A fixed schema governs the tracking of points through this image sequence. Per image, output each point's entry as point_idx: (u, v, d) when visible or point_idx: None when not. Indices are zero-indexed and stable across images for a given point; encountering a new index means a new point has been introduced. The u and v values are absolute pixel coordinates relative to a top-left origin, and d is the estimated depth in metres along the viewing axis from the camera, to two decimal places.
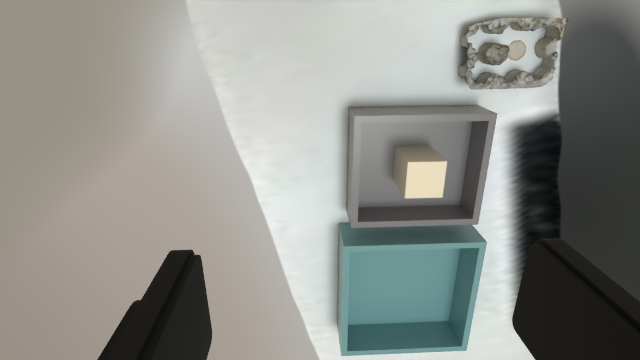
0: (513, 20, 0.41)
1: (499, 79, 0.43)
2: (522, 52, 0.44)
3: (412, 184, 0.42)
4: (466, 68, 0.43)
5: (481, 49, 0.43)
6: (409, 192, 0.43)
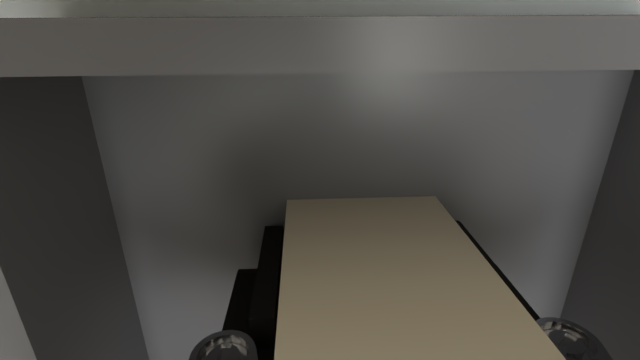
0: None
1: None
2: None
3: None
4: None
5: None
6: None
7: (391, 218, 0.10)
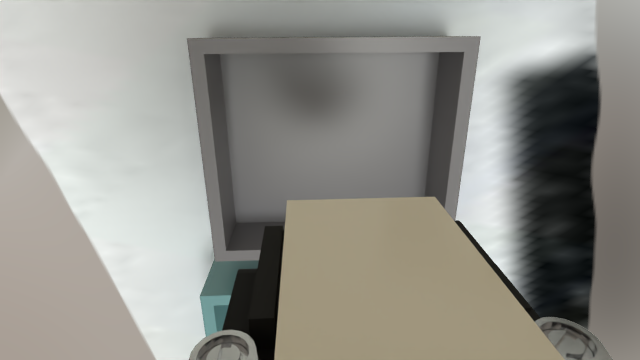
0: None
1: None
2: None
3: None
4: None
5: None
6: None
7: (391, 219, 0.10)
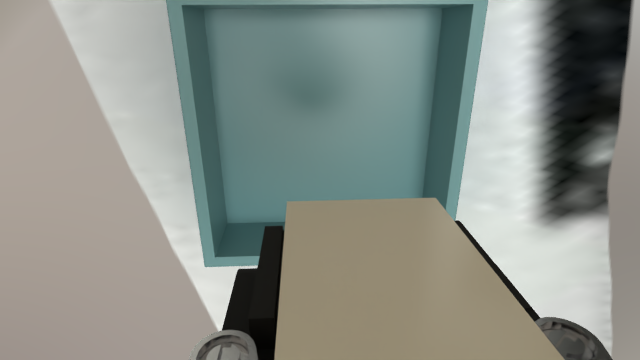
0: None
1: None
2: None
3: None
4: None
5: None
6: None
7: (391, 220, 0.10)
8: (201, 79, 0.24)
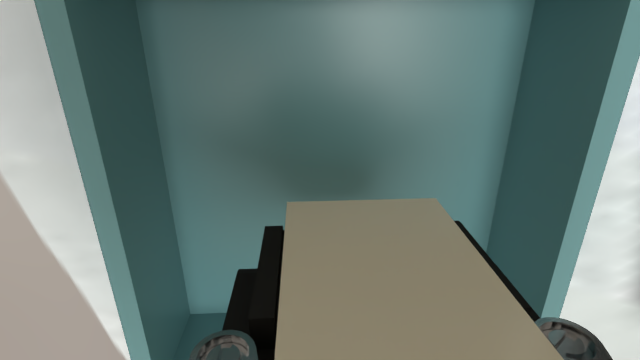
0: None
1: None
2: None
3: None
4: None
5: None
6: None
7: (391, 220, 0.10)
8: (125, 109, 0.14)
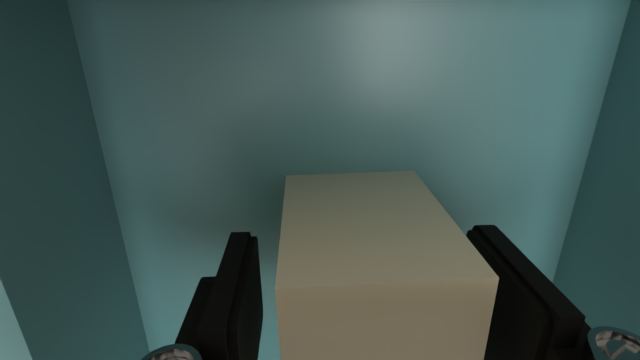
0: None
1: None
2: None
3: None
4: None
5: None
6: None
7: (374, 187, 0.12)
8: (42, 156, 0.09)
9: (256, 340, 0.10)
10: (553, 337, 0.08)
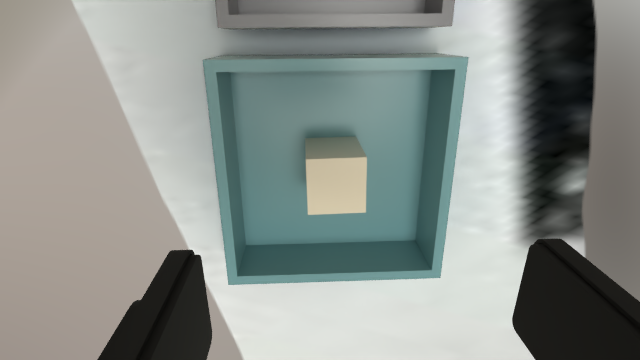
0: None
1: None
2: None
3: (317, 193, 0.28)
4: None
5: None
6: (314, 205, 0.28)
7: (338, 141, 0.31)
8: (228, 127, 0.29)
9: None
10: None
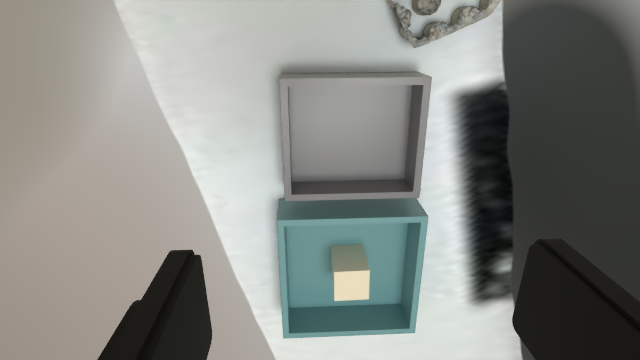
0: None
1: (442, 26, 0.40)
2: None
3: (340, 289, 0.47)
4: (404, 28, 0.40)
5: (413, 3, 0.41)
6: (338, 296, 0.47)
7: (351, 250, 0.50)
8: None
9: None
10: None
